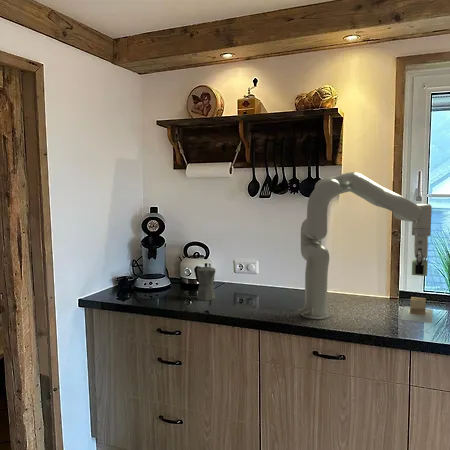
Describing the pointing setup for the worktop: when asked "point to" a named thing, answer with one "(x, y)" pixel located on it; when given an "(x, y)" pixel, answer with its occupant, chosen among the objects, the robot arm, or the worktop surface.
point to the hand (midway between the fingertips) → (419, 272)
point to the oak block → (417, 305)
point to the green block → (425, 263)
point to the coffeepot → (205, 282)
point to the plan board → (417, 315)
